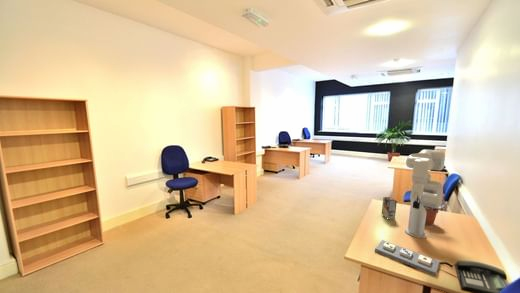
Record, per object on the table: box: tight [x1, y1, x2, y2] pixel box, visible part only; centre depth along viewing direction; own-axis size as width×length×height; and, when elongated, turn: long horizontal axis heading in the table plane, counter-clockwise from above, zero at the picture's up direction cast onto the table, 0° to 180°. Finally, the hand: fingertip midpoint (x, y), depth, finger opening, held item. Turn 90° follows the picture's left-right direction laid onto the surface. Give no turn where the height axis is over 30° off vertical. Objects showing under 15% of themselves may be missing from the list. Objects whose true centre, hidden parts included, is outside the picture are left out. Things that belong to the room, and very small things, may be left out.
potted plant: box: [423, 206, 439, 226], centre depth 176 cm, size 16×15×35 cm
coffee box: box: [381, 196, 398, 220], centre depth 185 cm, size 9×6×16 cm
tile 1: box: [418, 254, 432, 266], centre depth 126 cm, size 6×6×4 cm
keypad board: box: [374, 239, 441, 277], centre depth 132 cm, size 14×30×2 cm, turn 45°
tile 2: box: [383, 241, 397, 251], centre depth 138 cm, size 6×6×4 cm
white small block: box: [400, 247, 413, 258], centre depth 132 cm, size 6×6×4 cm
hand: (415, 208), depth 139 cm, fingers closed
